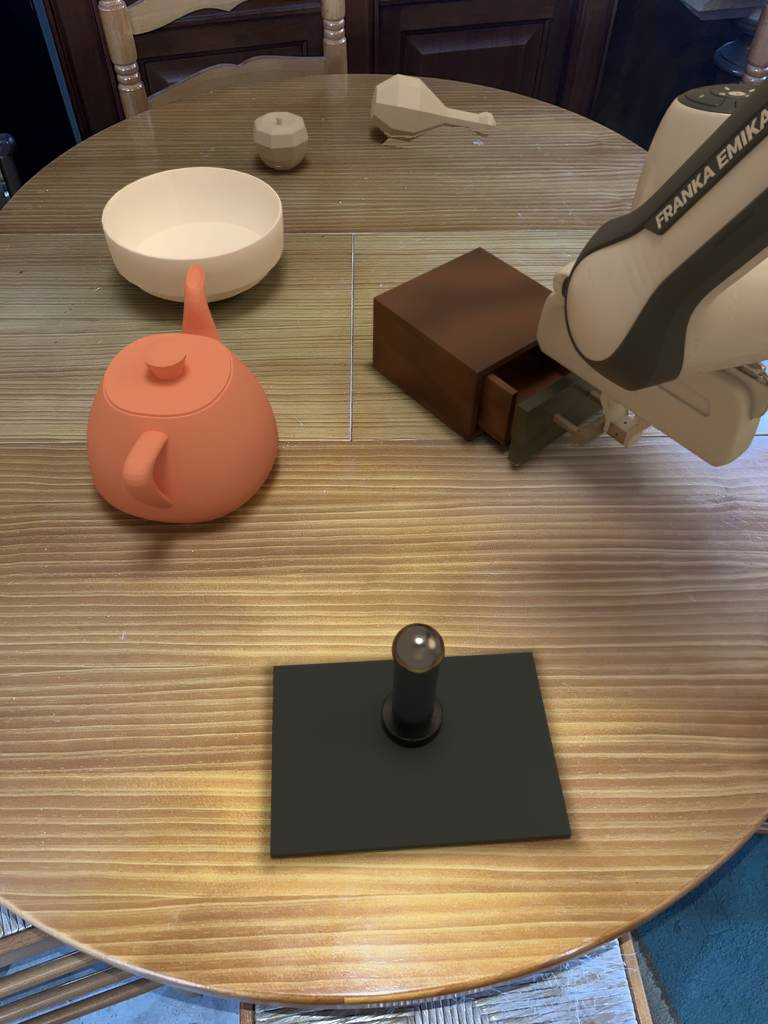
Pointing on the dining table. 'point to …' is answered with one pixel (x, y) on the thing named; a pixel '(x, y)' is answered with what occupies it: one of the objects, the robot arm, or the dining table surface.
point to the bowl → (195, 231)
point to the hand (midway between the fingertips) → (620, 437)
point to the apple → (280, 139)
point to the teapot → (181, 423)
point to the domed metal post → (414, 687)
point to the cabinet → (455, 332)
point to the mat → (411, 760)
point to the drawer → (537, 404)
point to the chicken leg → (418, 110)
